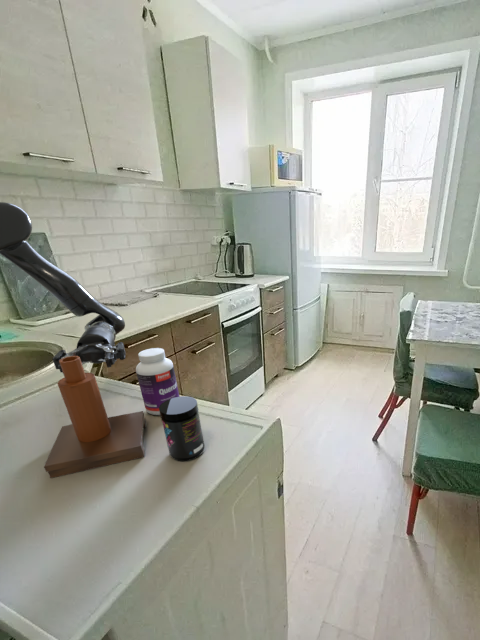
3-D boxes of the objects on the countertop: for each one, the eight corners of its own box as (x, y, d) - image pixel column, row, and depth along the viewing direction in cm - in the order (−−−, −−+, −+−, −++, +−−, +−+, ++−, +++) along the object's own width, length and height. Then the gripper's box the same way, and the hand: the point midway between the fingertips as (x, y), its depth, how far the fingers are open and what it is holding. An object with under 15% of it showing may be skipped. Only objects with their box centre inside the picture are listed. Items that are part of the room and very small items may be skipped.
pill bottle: (167, 419, 80) (153, 360, 73) (138, 414, 82) (123, 357, 76) (188, 402, 87) (177, 347, 80) (161, 398, 89) (148, 344, 83)
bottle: (75, 445, 67) (46, 367, 60) (80, 429, 72) (54, 356, 65) (109, 438, 69) (85, 362, 62) (112, 422, 74) (90, 351, 67)
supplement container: (184, 438, 72) (175, 394, 68) (212, 445, 70) (204, 399, 65) (162, 458, 67) (150, 411, 62) (191, 466, 64) (181, 417, 60)
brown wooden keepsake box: (49, 479, 63) (43, 466, 61) (66, 438, 75) (61, 426, 73) (144, 458, 67) (140, 445, 66) (146, 422, 79) (143, 410, 78)
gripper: (60, 333, 85) (41, 355, 71) (123, 325, 89) (117, 344, 75) (70, 361, 88) (54, 388, 74) (130, 353, 92) (126, 376, 78)
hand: (86, 366), depth 75 cm, fingers open, 8 cm apart
